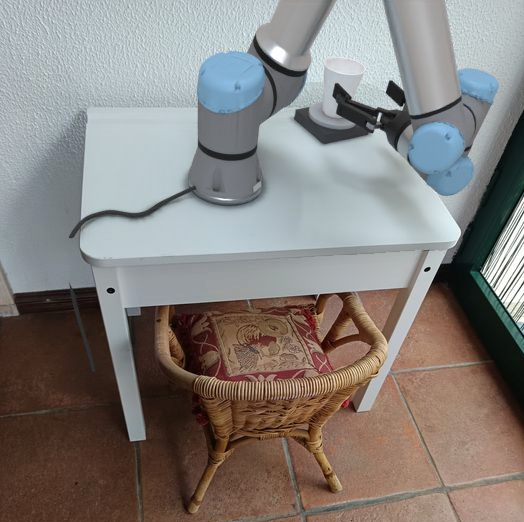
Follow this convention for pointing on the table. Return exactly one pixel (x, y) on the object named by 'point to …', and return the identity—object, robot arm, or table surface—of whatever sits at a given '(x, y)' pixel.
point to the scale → (326, 124)
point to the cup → (340, 80)
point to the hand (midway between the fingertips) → (362, 88)
